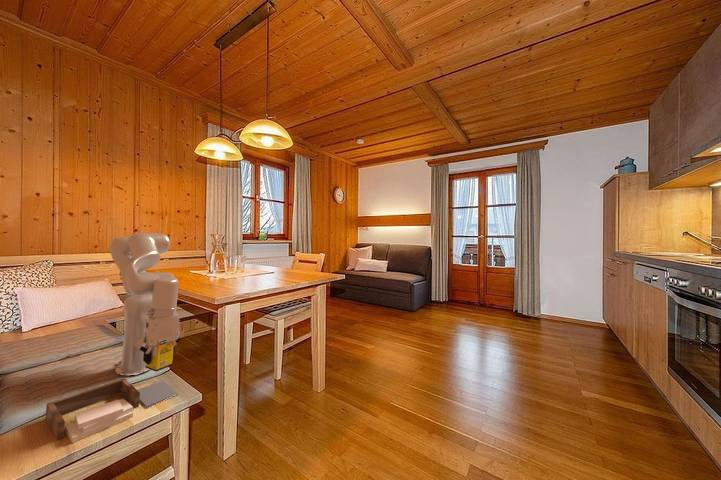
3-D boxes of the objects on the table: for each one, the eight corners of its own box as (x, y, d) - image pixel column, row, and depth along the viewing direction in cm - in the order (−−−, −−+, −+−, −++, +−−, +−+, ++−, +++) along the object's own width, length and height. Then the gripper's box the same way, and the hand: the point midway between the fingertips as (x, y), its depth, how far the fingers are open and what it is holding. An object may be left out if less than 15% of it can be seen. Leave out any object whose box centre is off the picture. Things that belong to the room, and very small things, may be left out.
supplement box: (172, 365, 103) (175, 336, 103) (156, 372, 98) (158, 341, 97) (161, 361, 105) (163, 332, 105) (144, 367, 100) (147, 337, 99)
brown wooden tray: (45, 418, 85) (46, 403, 85) (123, 391, 101) (124, 377, 101) (57, 440, 79) (58, 423, 78) (138, 406, 95) (139, 392, 95)
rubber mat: (131, 392, 101) (131, 391, 101) (162, 381, 110) (162, 380, 110) (146, 408, 95) (146, 406, 95) (178, 394, 104) (178, 393, 104)
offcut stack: (64, 430, 82) (65, 415, 82) (124, 406, 94) (125, 393, 94) (72, 443, 78) (73, 428, 78) (133, 417, 90) (135, 403, 90)
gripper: (139, 319, 91) (134, 372, 92) (193, 309, 106) (189, 354, 107) (130, 313, 95) (125, 363, 96) (183, 304, 110) (179, 348, 111)
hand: (159, 358), depth 101 cm, fingers closed on supplement box, 6 cm apart
